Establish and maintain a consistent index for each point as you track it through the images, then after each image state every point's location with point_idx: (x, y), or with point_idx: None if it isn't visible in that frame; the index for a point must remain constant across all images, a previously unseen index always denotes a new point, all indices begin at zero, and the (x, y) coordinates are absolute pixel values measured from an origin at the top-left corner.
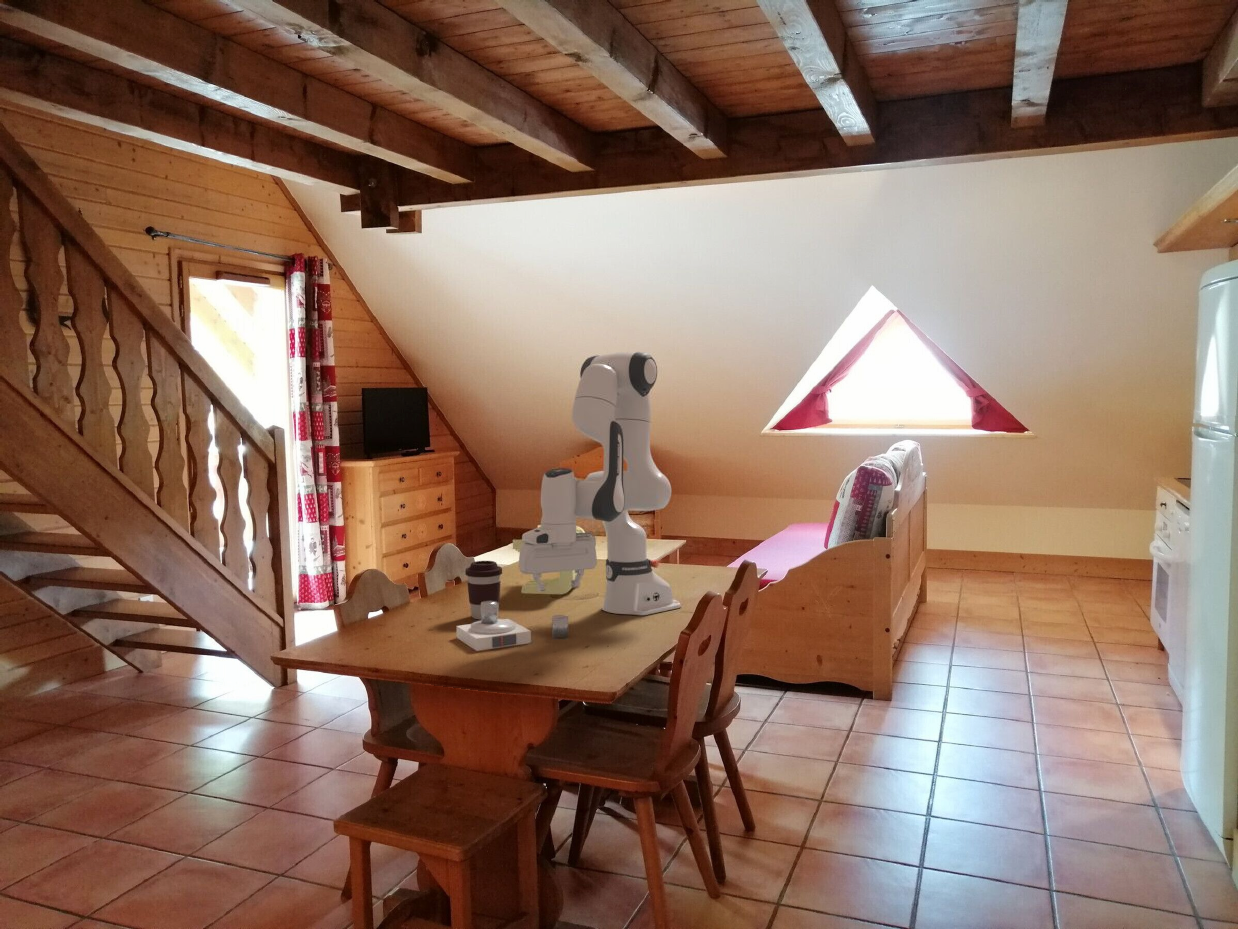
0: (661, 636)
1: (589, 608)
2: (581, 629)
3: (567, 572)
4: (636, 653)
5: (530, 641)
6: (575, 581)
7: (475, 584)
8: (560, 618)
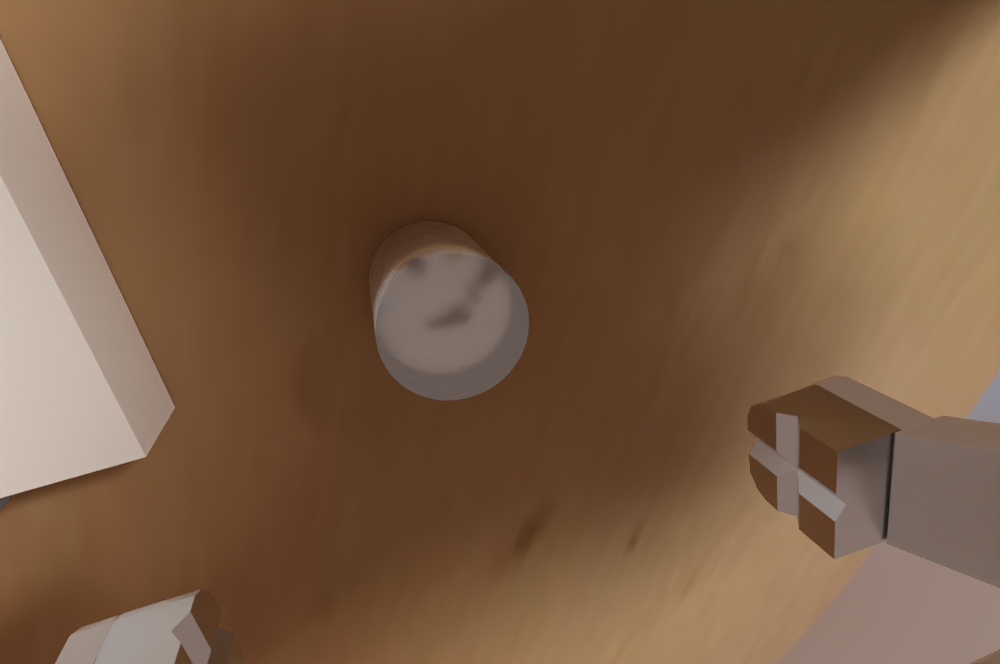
0: None
1: None
2: (629, 124)
3: None
4: (699, 657)
5: (168, 414)
6: (847, 552)
7: None
8: (442, 390)
